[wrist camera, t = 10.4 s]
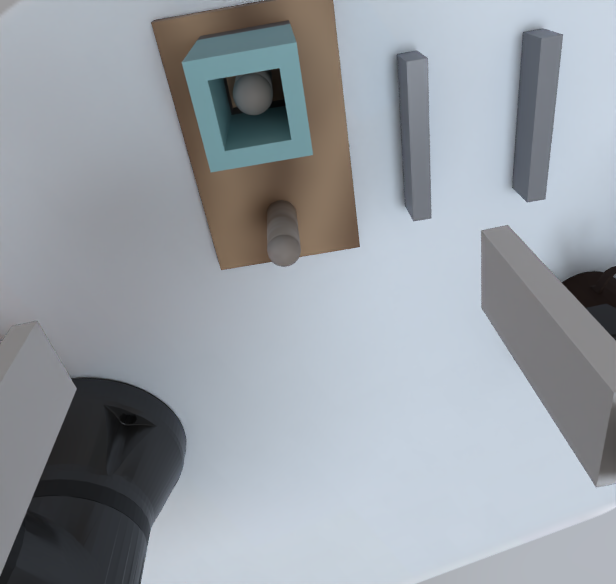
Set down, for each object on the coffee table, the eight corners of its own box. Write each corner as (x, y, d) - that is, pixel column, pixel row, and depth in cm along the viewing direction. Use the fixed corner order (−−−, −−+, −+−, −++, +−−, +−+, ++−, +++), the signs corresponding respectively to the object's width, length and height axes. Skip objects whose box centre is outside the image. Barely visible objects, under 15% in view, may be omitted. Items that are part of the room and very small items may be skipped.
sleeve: (200, 35, 29) (181, 62, 23) (288, 20, 29) (296, 42, 23) (221, 125, 32) (210, 172, 25) (302, 111, 32) (313, 155, 25)
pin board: (222, 261, 39) (214, 319, 33) (154, 20, 30) (127, 38, 24) (357, 239, 38) (374, 293, 32) (329, -11, 30) (346, -1, 24)
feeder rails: (405, 205, 37) (413, 221, 35) (397, 54, 32) (406, 62, 30) (529, 185, 37) (545, 199, 35) (543, 28, 32) (562, 34, 29)
